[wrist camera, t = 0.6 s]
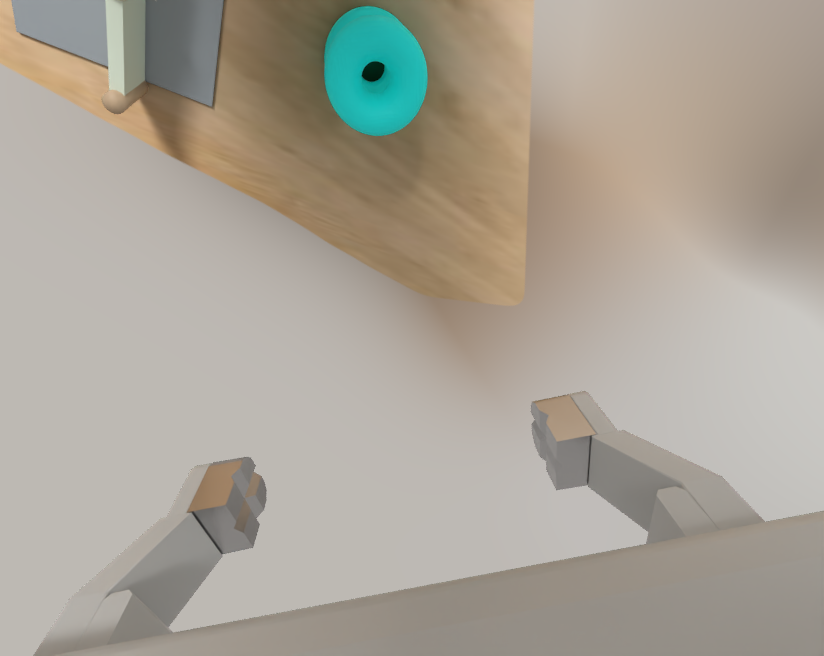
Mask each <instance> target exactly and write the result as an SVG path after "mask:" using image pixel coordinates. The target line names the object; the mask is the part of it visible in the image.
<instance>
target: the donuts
mask: <svg viewBox="0 0 824 656" xmlns="http://www.w3.org/2000/svg"><path fill="white" fill-rule="evenodd" d="M373 61H378V62H381V63H383V64H384V65H385V69H384V73H383V75H382V77H381V78H380V79H379V80H377V81H374V82H369V81H367V80H365V79H364V78H363V77H362V72H363V69H364V67H365V66H366V65H367V64H369V63H370V62H373ZM324 63H325V68H324V78H325V86H326V91H327V94H328V97H329V100H330V102H331V104H332V106H333V108H334V110H335V111H336V113H337V114H338V115H339V117H340V118H341V119H342V120H343V121H344V122H345V123H346V124H347V125H349V126H350V127H351V128H353V129H355V130H356V131H359V132H361V133H363V134H367V135H372V136H384V135H389V134H392V133H395V132H397V131H399V130H401V129H402V128H404V127H405V126H406V125H408V124H409V123H410V122H411V121H412V120H413V119H414V117H415V116H416V115H417V113H418V111H419V110H420V108H421V106H422V103H423V101H424V98H425V94H426V90H427V81H428V74H427V65H426V60H425V57H424V54H423V51H422V49H421V47H420V45H419V43H418V41H417V40H416V38H415V37H414V36H413V34H412V33H411V32H410V31H409V30H408V29H407V28H406V27H405V26H403V24H402V23H401V22H400V21H399V20H398V19H397V18H396V17H395V16H394V15H392V14H391V13H389V12H388V11H386V10H384V9H381V8H378V7H373V6H362V7H357V8H354V9H352V10H350V11H348V12H346V13H345V14H344V15H342V16H341V17H340V18H339V19H338V20H337V22H336V23H335V24H334V26H333V27H332V29H331V31H330V33H329V35H328V38H327V41H326V46H325V53H324Z"/></svg>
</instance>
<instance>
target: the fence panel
mask: <svg viewBox="0 0 824 656" xmlns="http://www.w3.org/2000/svg"><path fill="white" fill-rule="evenodd" d="M105 2H106V25H107V48H108V71H109V91H107V92H106V93H105V94H103V95H102V103H103V105H104V107H105V108H106V109H107V110H109V111H110V112H112V113H114V114H121V113H123V112H124V111H125V110H126V109H127V108H129V107H130V106H131V105H132V104H133V103H135V102H136V101H137V100H138V99H139V98H141V97H142V96H143V95H144V94H145V93H146V92H147V91H148V85H147V83H146V81H145V8H146V0H105Z"/></svg>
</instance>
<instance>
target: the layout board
mask: <svg viewBox="0 0 824 656" xmlns="http://www.w3.org/2000/svg"><path fill="white" fill-rule="evenodd" d="M223 2H224V0H146V8H145V81H146V82H149V83H151V84H154V85H157V86H159V87H162V88H164V89H167V90H170V91H172V92H175V93H177V94H180V95H182V96H185V97H188V98H190V99H193V100H195V101H198V102H201V103H203V104H206V105H208V106H211V107H212V104H213V95H214V86H215V76H216V67H217V58H218V49H219V39H220V30H221V21H222V12H223ZM12 6H13V12H14V18H15V25H16V31H17V32H19V33H22V34H24V35H27V36H30V37H32V38H35V39H37V40H40V41H42V42H45V43H48V44H50V45H53V46H55V47H58V48H61V49H63V50H66V51H68V52H71V53H74V54H76V55H79V56H81V57H84V58H87V59H89V60H92V61H94V62H97V63H100V64H102V65H105V66H107V67H108V48H107V25H106V2H105V0H12Z"/></svg>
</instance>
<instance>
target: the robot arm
mask: <svg viewBox="0 0 824 656" xmlns="http://www.w3.org/2000/svg"><path fill="white" fill-rule="evenodd" d="M531 413H532V415H533V417H534V419H535V421H534V422H533V423H532V434H533V439H534V443H535V446H536V449H537V451H538V453H539V455H540V457H541V458H543V459H544V460H546V465H547V467H546V468H547V472H548V474H549V476H550V478H551V480H552V482H553V484H554V486H555V488H556V490H560V489H566V488H572V487H578V486H585V485H588V487H589V488H591V489H592V490H593V491H595V492H596V493H597V494H599V495H600V496H601V497H603V498H604V499H605V500H607V501H608V502H609V503H611V504H612V505H613V506H615V507H616V508H617V509H619V510H620V511H621V512H623V513H624V514H625V515H627V516H628V517H629V518H631V519H632V520H633V521H635V522H636V523H637V524H638V525H640V526H641V527H642V528H644V529H645V530H646V531H648V532H649V533H648V538H647V542H646V544H644V545H639V546H633V547H628V548H623V549H617V550H612V551H607V552H602V553H596V554H591V555H585V556H580V557H574V558H569V559H564V560H559V561H553V562H548V563H543V564H537V565H532V566H526V567H521V568H516V569H511V570H505V571H500V572H495V573H489V574H485V575H479V576H473V577H468V578H463V579H458V580H452V581H447V582H442V583H436V584H431V585H426V586H420V587H416V588H410V589H404V590H399V591H394V592H388V593H383V594H378V595H372V596H367V597H362V598H356V599H351V600H345V601H340V602H335V603H330V604H324V605H319V606H314V607H308V608H303V609H297V610H292V611H287V612H282V613H276V614H271V615H265V616H261V617H254V618H249V619H244V620H239V621H233V622H228V623H223V624H218V625H212V626H207V627H201V628H196V629H191V630H186V631H180V632H174V633H173V632H172V631H171V630H170V629H169V628H168V627H169V626H170V624H171V623H172V622H173V620H174V619H175V618H176V616H177V615H178V614H179V613H180V611H181V610H182V609H183V607H184V606H185V605H186V603H187V602H188V601H189V599H190V598H191V597H192V596H193V594H194V593H195V592H196V590H197V589H198V588H199V586H200V585H201V584H202V582H203V581H204V580H205V579H206V577H207V576H208V575H209V573H210V572H211V571H212V569H213V568H214V567H215V565H216V564H217V563H218V561H219V560H220V559H221V558H222V554H226V553H231V552H235V551H240V550H244V549H249V548H253V546H254V542H255V539H256V536H257V532H258V528H259V522H258V521H257V519H256V518H257V517H258V516H259V515H260V513H261V512H262V511H263V510H264V507H265V503H266V487H265V482H264V480H263V478H262V476H260V475H258V474H256V473H255V472H254V469H255V466H256V465H255V464H254V462H253V460H252V459H251V458H249V457H243V458H237V459H232V460H225V461H219V462H213V463H210V464H204V465H197V466H195V467H194V468H193V469H191V471H190V473H189V475H188V477H187V478H186V480H185V482H184V484H183V486H182V488H181V490H180V492H179V494H178V496H177V498H176V500H175V501H174V503H173V505H172V507H171V509H170V511H169V513H168V515H167V517H165V518H161V519H159V520H158V521H157V522H156V523H155V524H154V525H153V526H151V527H150V528H149V529H148V530H147V531H146V532H145V533H144V534H142V535H141V536H140V537H139V538H138V539H137V540H136V541H135V542H133V543H132V544H131V545H130V546H129V547H128V548H127V549H125V550H124V551H123V552H122V553H121V554H120V555H119V556H118V557H116V558H115V559H114V560H113V561H112V562H111V563H110V564H108V565H107V566H106V567H105V568H104V569H103V570H102V571H101V572H99V573H98V574H97V575H96V576H95V577H94V578H93V579H92V580H90V581H89V582H88V583H87V584H86V585H85V586H84V587H82V588H81V589H80V590H79V591H78V592H77V593H76V594H75V595H74V596H72V597H71V598H70V599H69V601H68V602H67V603H66V605H65V607H64V608H63V610H62V611H61V613H60V615H59V616H58V618H57V619H56V621H55V622H54V624H53V626H52V627H51V629H50V630H49V632H48V633H47V635H46V637H45V638H44V640H43V642H42V643H41V644H40V646H39V648H38V649H37V651H36V652H35V654H34V656H824V511H820V512H815V513H809V514H804V515H799V516H794V517H788V518H783V519H778V520H773V521H767V522H765V521H764V520H763V519H762V518H761V517H760V516H759V515H758V514H757V513H756V512H755V511H754V510H753V509H752V508H751V506H750V505H749V504H748V503H747V502H746V501H745V500H744V499H743V498H742V497H741V496H740V495H739V494H738V493H737V492H736V491H735V490H734V489H733V488H732V487H731V486H730V485H729V483H728V482H727V481H726V480H725V479H724V478H723V477H722V476H720V475H717V474H715V473H713V472H711V471H709V470H707V469H705V468H703V467H700V466H698V465H696V464H694V463H692V462H690V461H688V460H686V459H684V458H682V457H680V456H677V455H675V454H673V453H671V452H669V451H667V450H664V449H662V448H660V447H658V446H656V445H654V444H652V443H650V442H648V441H646V440H644V439H641V438H639V437H637V436H635V435H633V434H631V433H629V432H627V431H625V430H621V431H618V430H617V429H616V428H615V426H614V425H613V424H612V423H611V421H610V420H609V419H608V418H607V416H606V415H605V414H604V412H603V411H602V410H601V409H600V407H599V406H598V405H597V403H596V402H595V401H594V400H593V398H592V397H591V396H590V395H589V393H588V392H586V391H582V392H577V393H572V394H568V395H563V396H558V397H553V398H549V399H543V400H539V401H534V402H532V405H531Z"/></svg>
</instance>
